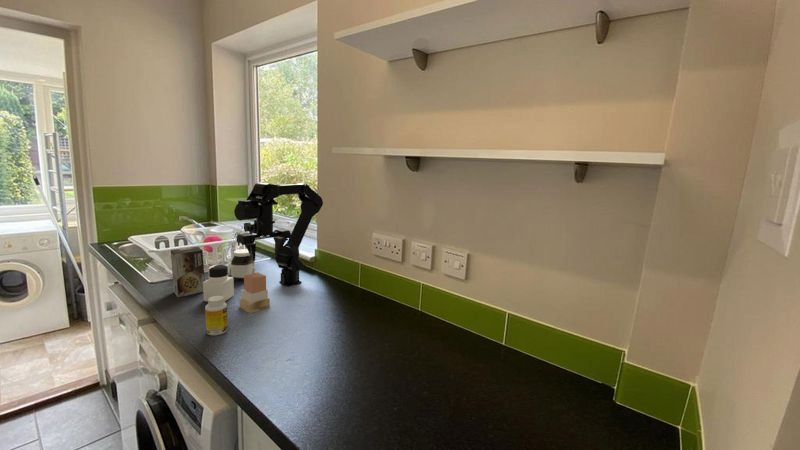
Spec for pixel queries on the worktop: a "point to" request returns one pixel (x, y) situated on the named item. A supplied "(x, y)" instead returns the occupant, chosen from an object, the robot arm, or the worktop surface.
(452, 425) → the worktop surface
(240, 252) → the spread jar
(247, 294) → the cream block
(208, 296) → the medicine bottle
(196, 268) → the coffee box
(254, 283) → the terracotta block
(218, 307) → the supplement bottle
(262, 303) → the oak base block
